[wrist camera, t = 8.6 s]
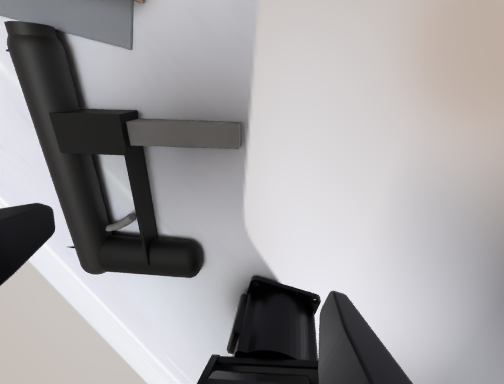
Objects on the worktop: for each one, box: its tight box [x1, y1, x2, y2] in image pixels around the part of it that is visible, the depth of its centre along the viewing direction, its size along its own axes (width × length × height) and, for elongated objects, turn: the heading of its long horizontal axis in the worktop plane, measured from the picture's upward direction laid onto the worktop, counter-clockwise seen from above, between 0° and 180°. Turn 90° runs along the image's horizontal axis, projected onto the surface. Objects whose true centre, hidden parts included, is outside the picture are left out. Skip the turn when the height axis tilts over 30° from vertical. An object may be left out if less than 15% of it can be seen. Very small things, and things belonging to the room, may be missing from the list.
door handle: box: [4, 21, 241, 278], centre depth 20 cm, size 3×20×16 cm
